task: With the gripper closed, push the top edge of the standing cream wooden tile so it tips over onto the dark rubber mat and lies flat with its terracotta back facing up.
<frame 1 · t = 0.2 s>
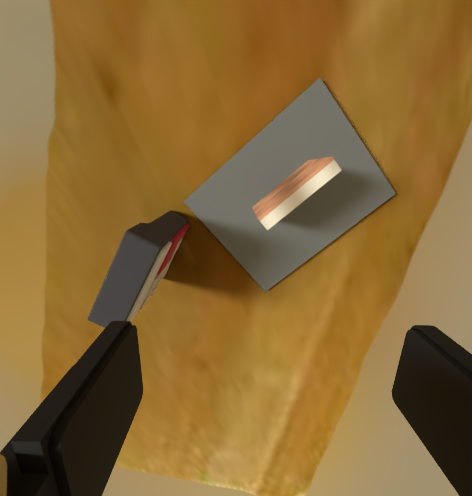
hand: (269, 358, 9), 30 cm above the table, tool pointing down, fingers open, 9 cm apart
tile: (283, 189, 36), point 1 cm above the table, touching mat
grey and red box: (165, 244, 39), on the table
mat: (288, 197, 37), on the table
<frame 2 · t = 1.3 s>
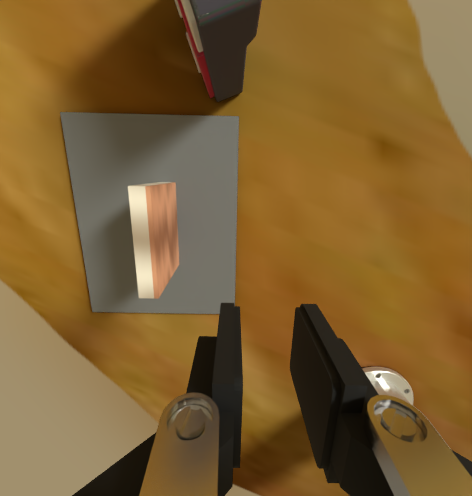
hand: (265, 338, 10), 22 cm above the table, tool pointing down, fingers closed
tile: (170, 225, 30), point 1 cm above the table, touching mat
grey and red box: (211, 42, 26), on the table
mat: (159, 223, 31), on the table
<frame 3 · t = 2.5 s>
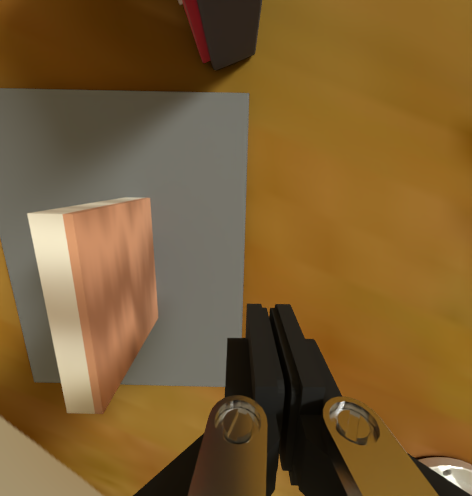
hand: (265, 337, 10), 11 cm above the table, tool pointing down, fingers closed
tile: (143, 261, 20), point 1 cm above the table, touching mat
mat: (128, 258, 21), on the table
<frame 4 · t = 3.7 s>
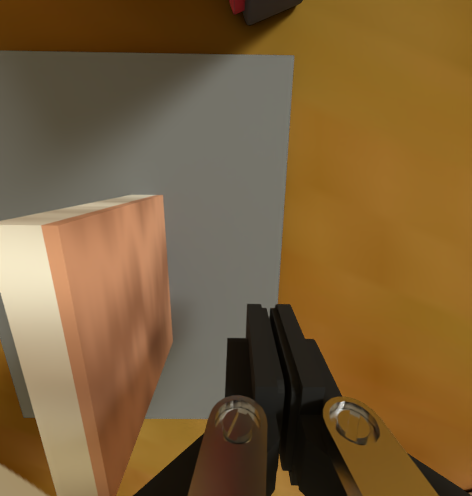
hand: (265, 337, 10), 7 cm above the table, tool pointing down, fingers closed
tile: (154, 274, 16), point 1 cm above the table, touching mat
mat: (135, 269, 17), on the table
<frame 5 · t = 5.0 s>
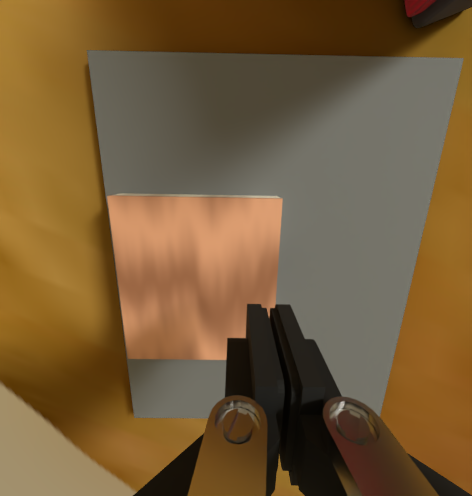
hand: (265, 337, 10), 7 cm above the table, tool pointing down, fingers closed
tile: (274, 281, 15), point 2 cm above the table, tilted 90°, touching mat
mat: (263, 270, 17), on the table
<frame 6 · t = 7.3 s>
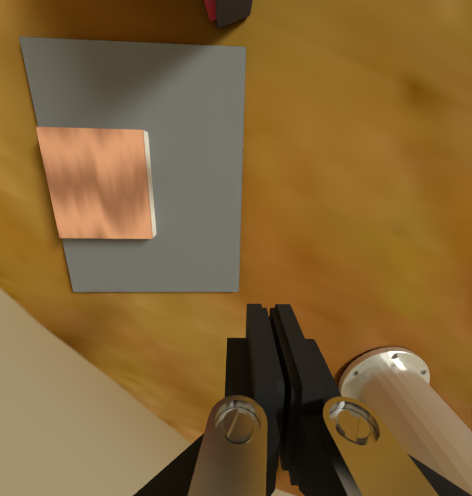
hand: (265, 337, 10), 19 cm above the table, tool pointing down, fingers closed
tile: (150, 187, 24), point 2 cm above the table, tilted 90°, touching mat
mat: (149, 185, 26), on the table
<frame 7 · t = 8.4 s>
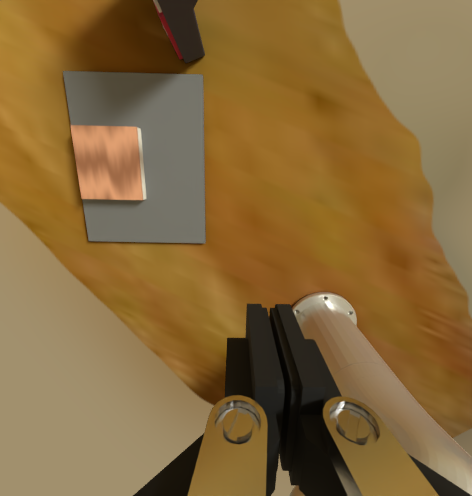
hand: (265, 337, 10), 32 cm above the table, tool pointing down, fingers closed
tile: (141, 165, 37), point 2 cm above the table, tilted 90°, touching mat
grey and red box: (179, 16, 33), on the table
mat: (142, 165, 38), on the table
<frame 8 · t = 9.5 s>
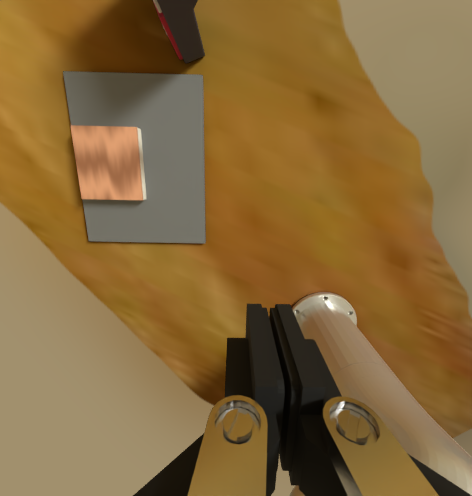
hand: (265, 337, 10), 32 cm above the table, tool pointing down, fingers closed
tile: (141, 165, 37), point 2 cm above the table, tilted 90°, touching mat
grey and red box: (179, 16, 33), on the table
mat: (142, 165, 38), on the table
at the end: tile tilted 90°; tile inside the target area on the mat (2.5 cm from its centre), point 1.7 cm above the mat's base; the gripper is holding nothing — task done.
